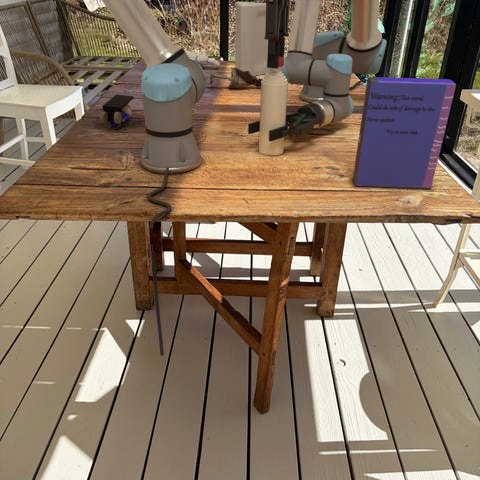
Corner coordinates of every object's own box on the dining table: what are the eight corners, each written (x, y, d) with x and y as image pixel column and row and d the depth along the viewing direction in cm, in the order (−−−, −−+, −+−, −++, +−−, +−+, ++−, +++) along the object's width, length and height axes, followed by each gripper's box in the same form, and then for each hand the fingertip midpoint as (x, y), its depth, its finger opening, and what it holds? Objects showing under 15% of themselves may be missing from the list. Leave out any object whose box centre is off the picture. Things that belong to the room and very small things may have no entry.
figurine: (210, 87, 179) (288, 95, 182) (212, 65, 176) (291, 73, 180) (208, 84, 201) (278, 91, 205) (210, 64, 198) (280, 71, 202)
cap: (268, 63, 122) (269, 55, 121) (284, 64, 122) (285, 56, 120) (265, 66, 119) (266, 58, 118) (282, 67, 118) (282, 59, 117)
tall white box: (273, 76, 210) (276, 6, 196) (239, 77, 209) (240, 6, 194) (266, 67, 226) (268, 2, 212) (235, 67, 225) (235, 1, 210)
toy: (175, 75, 210) (174, 58, 206) (151, 64, 228) (150, 49, 224) (222, 69, 222) (222, 53, 218) (195, 59, 239) (195, 45, 236)
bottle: (287, 149, 133) (293, 58, 121) (277, 157, 128) (282, 63, 115) (265, 144, 136) (269, 56, 123) (254, 152, 131) (257, 60, 118)
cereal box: (425, 180, 115) (449, 78, 103) (430, 188, 111) (456, 83, 99) (352, 177, 116) (367, 76, 104) (355, 186, 112) (371, 81, 100)
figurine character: (122, 135, 144) (137, 116, 156) (118, 111, 140) (134, 93, 152) (101, 134, 145) (117, 115, 157) (96, 110, 140) (113, 92, 152)
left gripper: (286, -42, 100) (280, 74, 112) (305, -42, 114) (298, 61, 126) (252, -42, 102) (250, 71, 114) (275, -42, 116) (271, 59, 128)
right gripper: (340, 136, 135) (286, 156, 121) (287, 120, 147) (233, 136, 134) (343, 110, 131) (288, 127, 118) (289, 96, 143) (233, 110, 130)
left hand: (275, 65), depth 120 cm, fingers closed on cap, 4 cm apart
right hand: (259, 132), depth 126 cm, fingers closed on bottle, 7 cm apart
